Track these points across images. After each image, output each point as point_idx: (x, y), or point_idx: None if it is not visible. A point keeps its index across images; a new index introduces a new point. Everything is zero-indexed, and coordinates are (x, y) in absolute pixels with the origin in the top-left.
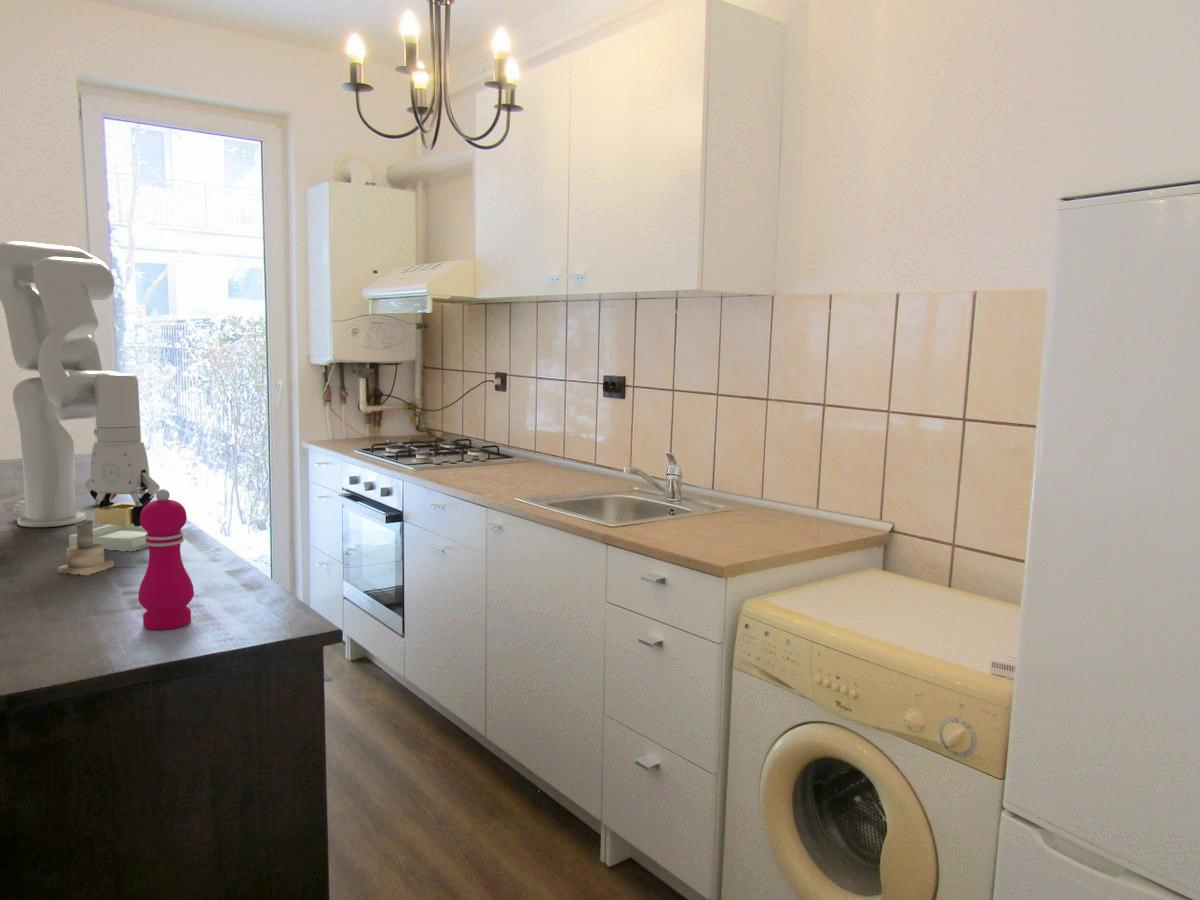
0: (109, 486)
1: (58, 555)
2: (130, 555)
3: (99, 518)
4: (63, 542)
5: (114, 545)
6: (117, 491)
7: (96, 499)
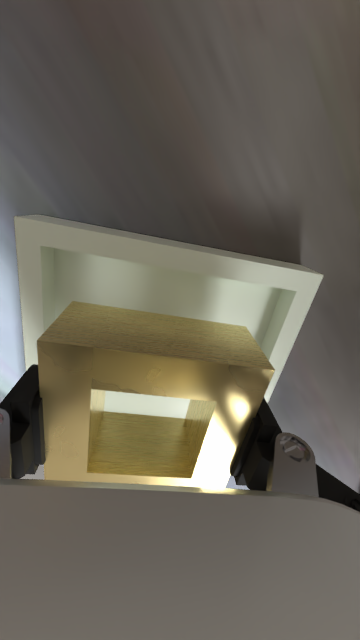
0: (182, 574)
1: (289, 126)
2: (9, 161)
3: (227, 335)
4: (340, 317)
5: (116, 232)
6: (81, 501)
7: (309, 461)
